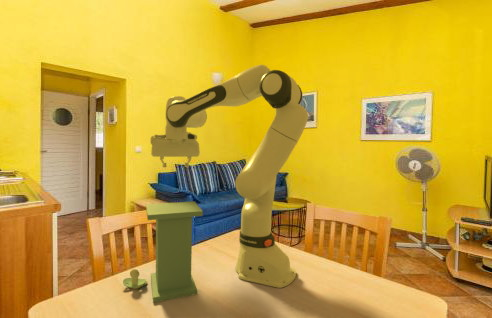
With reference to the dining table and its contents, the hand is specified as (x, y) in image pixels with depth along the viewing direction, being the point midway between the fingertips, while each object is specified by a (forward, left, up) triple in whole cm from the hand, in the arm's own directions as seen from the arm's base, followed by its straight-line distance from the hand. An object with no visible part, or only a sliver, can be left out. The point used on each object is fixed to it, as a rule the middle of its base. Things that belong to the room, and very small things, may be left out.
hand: (175, 167), depth 119 cm
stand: (-24, +23, -35) cm, 49 cm away
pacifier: (-14, +30, -36) cm, 49 cm away
